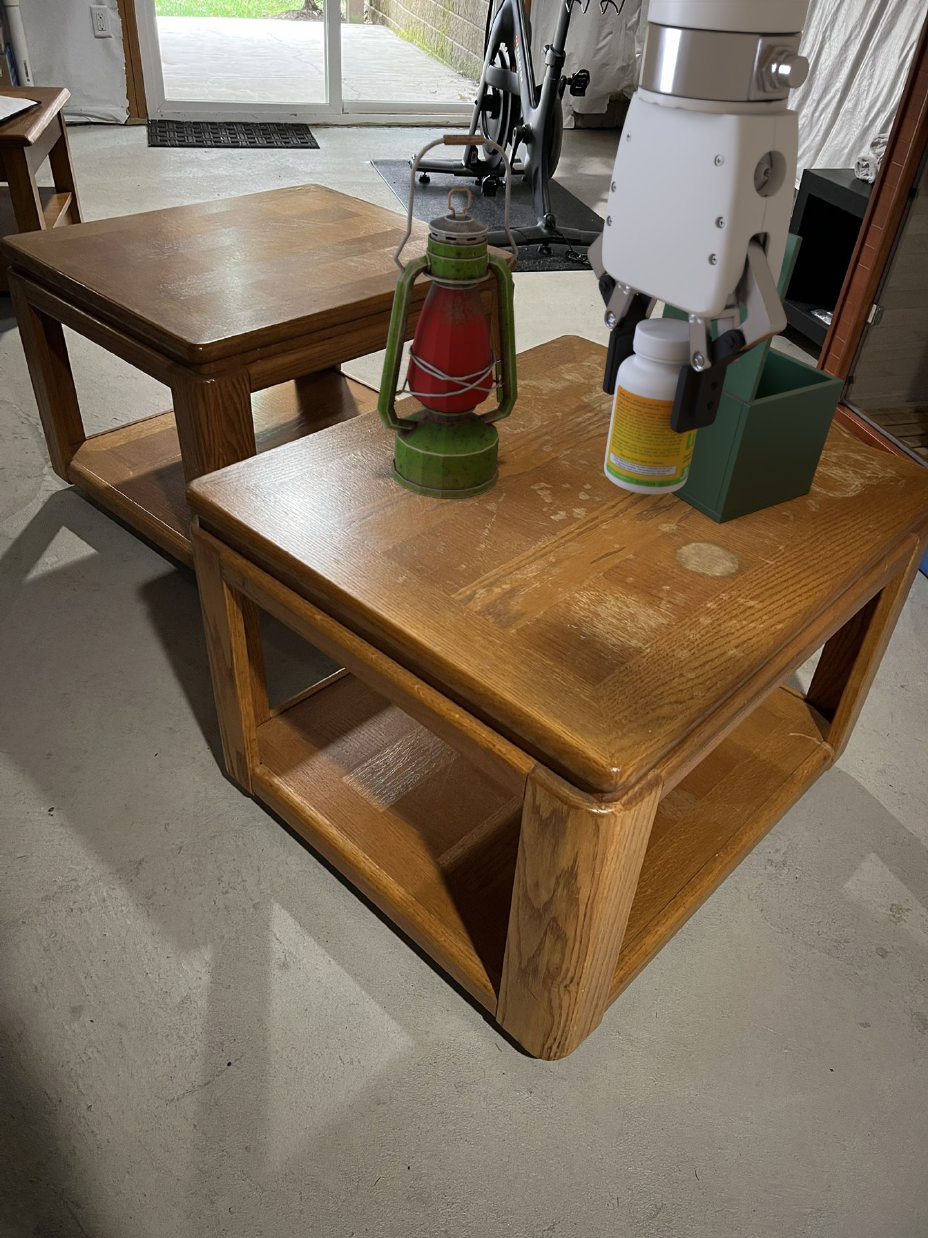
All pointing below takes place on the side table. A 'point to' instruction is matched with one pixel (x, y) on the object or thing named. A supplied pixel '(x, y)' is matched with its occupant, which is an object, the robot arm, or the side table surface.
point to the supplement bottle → (650, 412)
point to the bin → (763, 441)
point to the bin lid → (750, 365)
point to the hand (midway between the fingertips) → (657, 405)
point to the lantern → (451, 353)
